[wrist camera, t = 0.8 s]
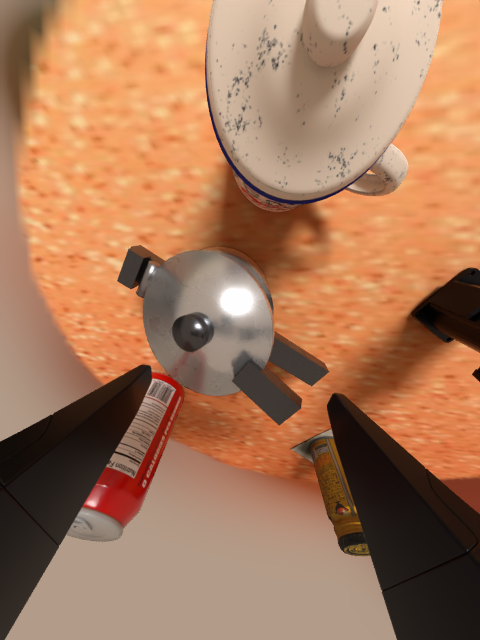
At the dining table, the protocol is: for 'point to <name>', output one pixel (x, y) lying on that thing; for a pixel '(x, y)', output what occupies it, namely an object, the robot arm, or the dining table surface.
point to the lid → (214, 329)
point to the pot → (283, 349)
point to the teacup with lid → (315, 93)
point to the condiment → (335, 492)
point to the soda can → (131, 465)
